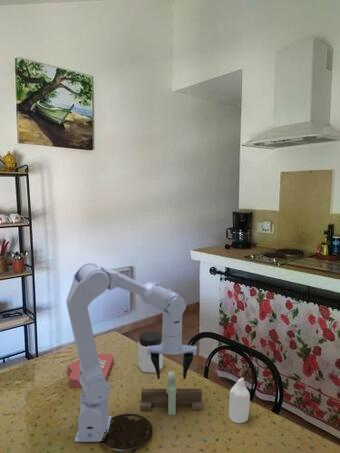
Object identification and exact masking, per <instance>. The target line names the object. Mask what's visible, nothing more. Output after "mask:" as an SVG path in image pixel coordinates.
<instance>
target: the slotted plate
mask: <svg viewBox="0 0 340 453" xmlns="http://www.w3.org/2000/svg"><path fill="white" fill-rule="evenodd" d="M175 373H176V372H175V371H168V372H167V393H168V406H167V409H168V410H167V412H168V413H167V414H168V416H176V412H177V411H176V407H177V406H176V389H177V388H176V377H175V376H176V374H175Z"/></svg>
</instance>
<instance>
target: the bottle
mask: <svg viewBox="0 0 340 453" xmlns="http://www.w3.org/2000/svg"><path fill="white" fill-rule="evenodd" d="M245 384H246V383H245V378H244V377H240V378H239V379H238V380H237V381H236V382H235V384H234V385H233V386H232V387H231V389H230V391H229V399H228V400H229V404H228V405H229V406H228V417H229V419H230V420H231V421H232V422H233V423H236V424H243V423H246V422H247V421H249V414H250V402H251V401H250V400H251V399H250V398H251V395H250V392H249V390H248V388H247V386H246V385H245Z"/></svg>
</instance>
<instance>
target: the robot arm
mask: <svg viewBox="0 0 340 453" xmlns="http://www.w3.org/2000/svg"><path fill="white" fill-rule="evenodd" d="M72 278H73V279H72V283H71V286H70V288H69V291H68V293H67V297H66V300H65V301H66V308H67V312H68V317H69V321H70V325H71V330H72V334H73V339H74V343H75V346H76V352H77V355H78V356H77V357H78V360H79V361H80V365H79V367H80V373H79V383H80V384H81V386H82V388H81V392H80V395H79V409H80V411H79V412H80V413H79V415H78V419H77V428H78V429H77V433H76V434H75V438H74V442H75V443H91V442H93V443H94V442H95V443H98V442H100V441H102V438H103V435H104V432H106V430H107V432H108V433H109V431H110V426H111V422H112V416H111V415H109V396H110V393H111V385H110V383H109V382H108V380H107V381H106V379H105V378H104V375H103V372H102V369H101V366H100V363H99V359H98V354H99V353H98V351H97V346H96V342H95V337H94V332H93V327H92V323H91V318H90V314H89V309H88V307H89V306H90V304H91V303H92V302H93V301H94V300H96V298H98V297H100V296H101V295H102V294H103V293H105V292H106V291H107V290H108V291H112V290H114V289H115V288H120V289H122V290H125V291H128V292H131V293H133V294H135V295H139V297H140V298H139V299H140V301H141V302H142V303H145V304H148V305H150V306H153V307H155V308H158V309H159V310H162V331H161V332H162V333H161V335H162V344H161V345H154V346H147V355H151V361H152V363H153V365H154V367H155V370H156V373H155V374H156V378H157V380H161V372H160V371H161V369H160V368H159V354H163V355H172V356H173V355H183V368H182V369H183V370H182V377H183V380H186V379H187V375H188V371H189V368H190V367H191V364H192V363H193V360H194V356H197V351H198V350H197V349H198V348H197V346H196V345H188V344H182V343H183V342H182V338H183V336H182V335H183V334H182V333H183V332H182V331H183V316H184V312H185V310H186V309H187V304H186V302H185V299H184V297H183V296H181V295H179V294H178V293H177V292H174V291H173V290H172V289H171V288H168V287H167V288H165V287H162V286H160V283H159V282H156V281H153V282H151V281H149V282H145V283H141V282H139V281H138V280H135V279H134V278H131V277H128V275H127V276H126V275H124V274H123V273H121V272H118V271H116V270H113V269H111V268H108V267H104V266H101V265H99V266H98V265H97V264H95V263H91V262H89V263H88V262H87V263H85V264H82V265H81V266H80V267H79V268H78V269H77V271H75V273H74V274H73V276H72ZM110 421H111V422H110ZM108 430H109V431H108ZM100 443H101V442H100Z"/></svg>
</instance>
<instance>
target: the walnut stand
mask: <svg viewBox="0 0 340 453" xmlns="http://www.w3.org/2000/svg"><path fill="white" fill-rule="evenodd" d="M140 392H141V394H140V396H141V397H140V398H141V399H140V401H141V402H140V411H141V412H151V411H152V407H168V388H141V390H140ZM202 398H203V391H202V388H176V407H188V406H189V407H191V410H192V411H194V412H195V411H203V406H204V405H203V402H202V401H203V400H202Z"/></svg>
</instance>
